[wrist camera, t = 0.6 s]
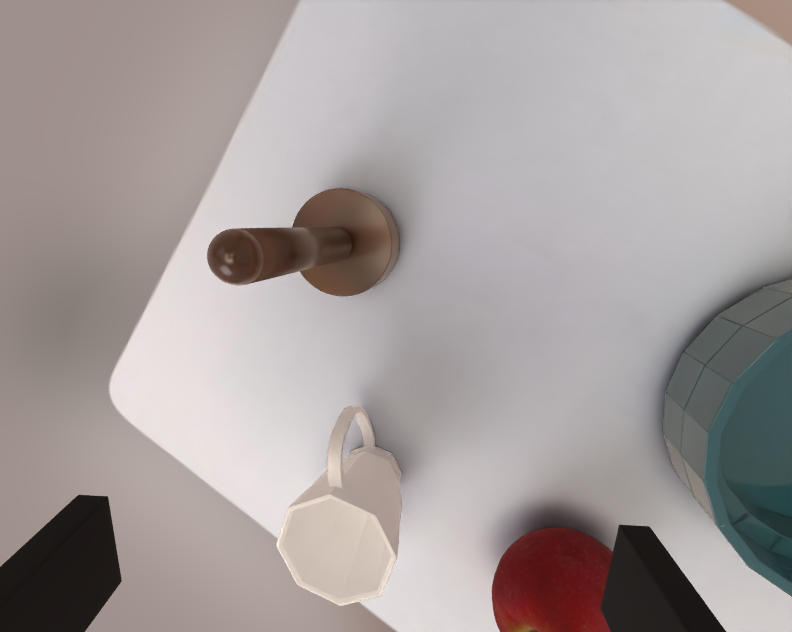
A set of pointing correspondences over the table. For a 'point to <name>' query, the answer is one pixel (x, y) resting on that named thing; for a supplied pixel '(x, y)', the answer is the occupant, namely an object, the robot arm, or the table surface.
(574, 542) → the apple
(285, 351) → the table surface
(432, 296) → the table surface
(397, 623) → the table surface
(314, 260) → the coffee tamper
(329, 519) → the cup
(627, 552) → the robot arm
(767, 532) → the bowl
